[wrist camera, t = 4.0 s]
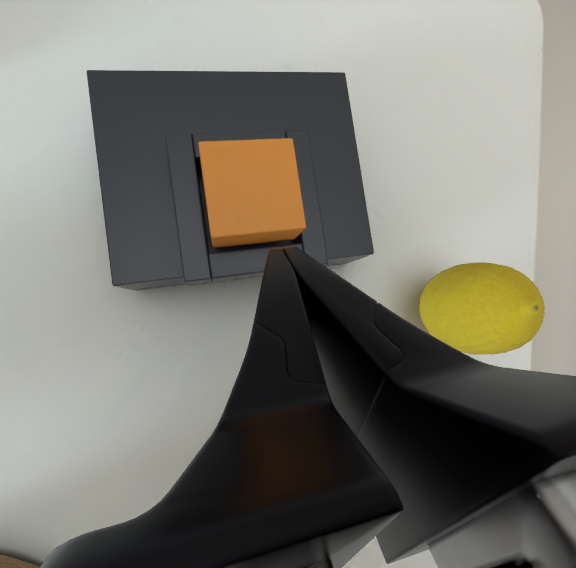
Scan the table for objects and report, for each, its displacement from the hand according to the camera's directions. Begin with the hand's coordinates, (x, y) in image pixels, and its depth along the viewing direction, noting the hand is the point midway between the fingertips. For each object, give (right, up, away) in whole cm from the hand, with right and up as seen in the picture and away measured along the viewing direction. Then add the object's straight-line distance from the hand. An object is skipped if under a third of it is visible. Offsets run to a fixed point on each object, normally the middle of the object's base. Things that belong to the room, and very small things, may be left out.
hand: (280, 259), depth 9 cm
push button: (-3, +5, +11) cm, 13 cm away
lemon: (+11, -3, +14) cm, 18 cm away
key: (-2, +3, +6) cm, 7 cm away
